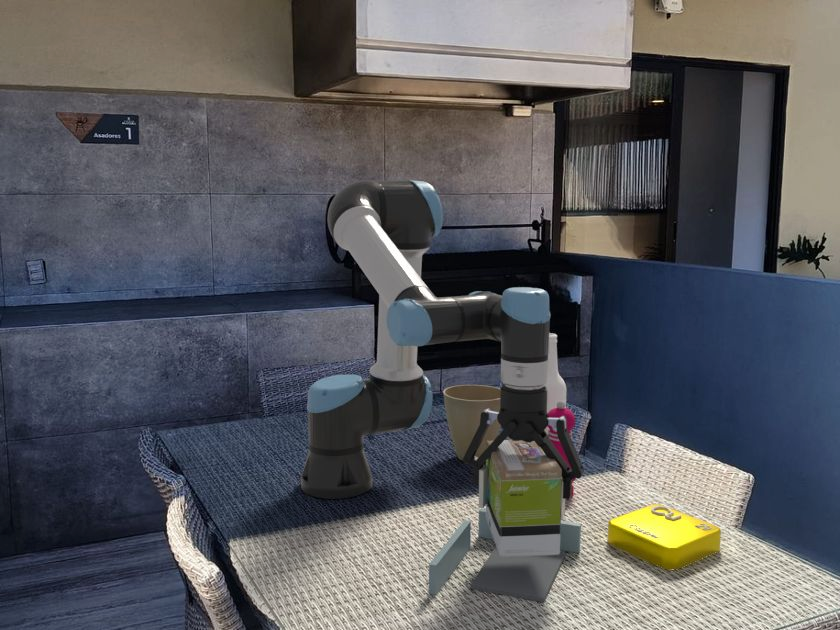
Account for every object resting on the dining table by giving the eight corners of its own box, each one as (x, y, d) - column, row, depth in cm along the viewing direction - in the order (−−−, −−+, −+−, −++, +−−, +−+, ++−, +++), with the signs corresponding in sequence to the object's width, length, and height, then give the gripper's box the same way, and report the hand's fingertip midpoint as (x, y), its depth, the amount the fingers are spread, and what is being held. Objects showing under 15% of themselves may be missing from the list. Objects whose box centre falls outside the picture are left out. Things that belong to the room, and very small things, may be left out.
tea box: (483, 519, 142) (484, 438, 140) (540, 517, 143) (542, 436, 141) (498, 558, 128) (500, 468, 125) (561, 556, 128) (564, 466, 126)
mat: (470, 588, 131) (470, 585, 131) (498, 544, 147) (498, 541, 146) (544, 602, 127) (544, 598, 127) (565, 555, 142) (565, 552, 142)
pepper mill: (575, 501, 166) (578, 406, 163) (539, 498, 168) (542, 404, 165) (576, 488, 173) (579, 397, 170) (541, 486, 175) (544, 395, 172)
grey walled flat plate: (428, 593, 129) (428, 564, 128) (474, 533, 151) (474, 507, 151) (551, 617, 122) (552, 586, 121) (580, 550, 144) (581, 523, 144)
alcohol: (566, 456, 193) (570, 332, 188) (560, 469, 185) (564, 339, 180) (530, 452, 196) (533, 329, 191) (522, 464, 188) (525, 336, 183)
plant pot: (487, 473, 182) (488, 404, 180) (430, 461, 190) (431, 394, 188) (516, 454, 195) (518, 389, 192) (462, 443, 203) (462, 381, 200)
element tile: (602, 543, 148) (603, 518, 148) (655, 523, 157) (656, 499, 156) (671, 574, 136) (672, 547, 136) (724, 551, 145) (726, 526, 144)
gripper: (444, 382, 132) (443, 508, 136) (597, 397, 124) (592, 530, 127) (458, 372, 139) (457, 492, 143) (604, 385, 130) (600, 512, 134)
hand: (521, 510), depth 135 cm, fingers closed on tea box, 12 cm apart
